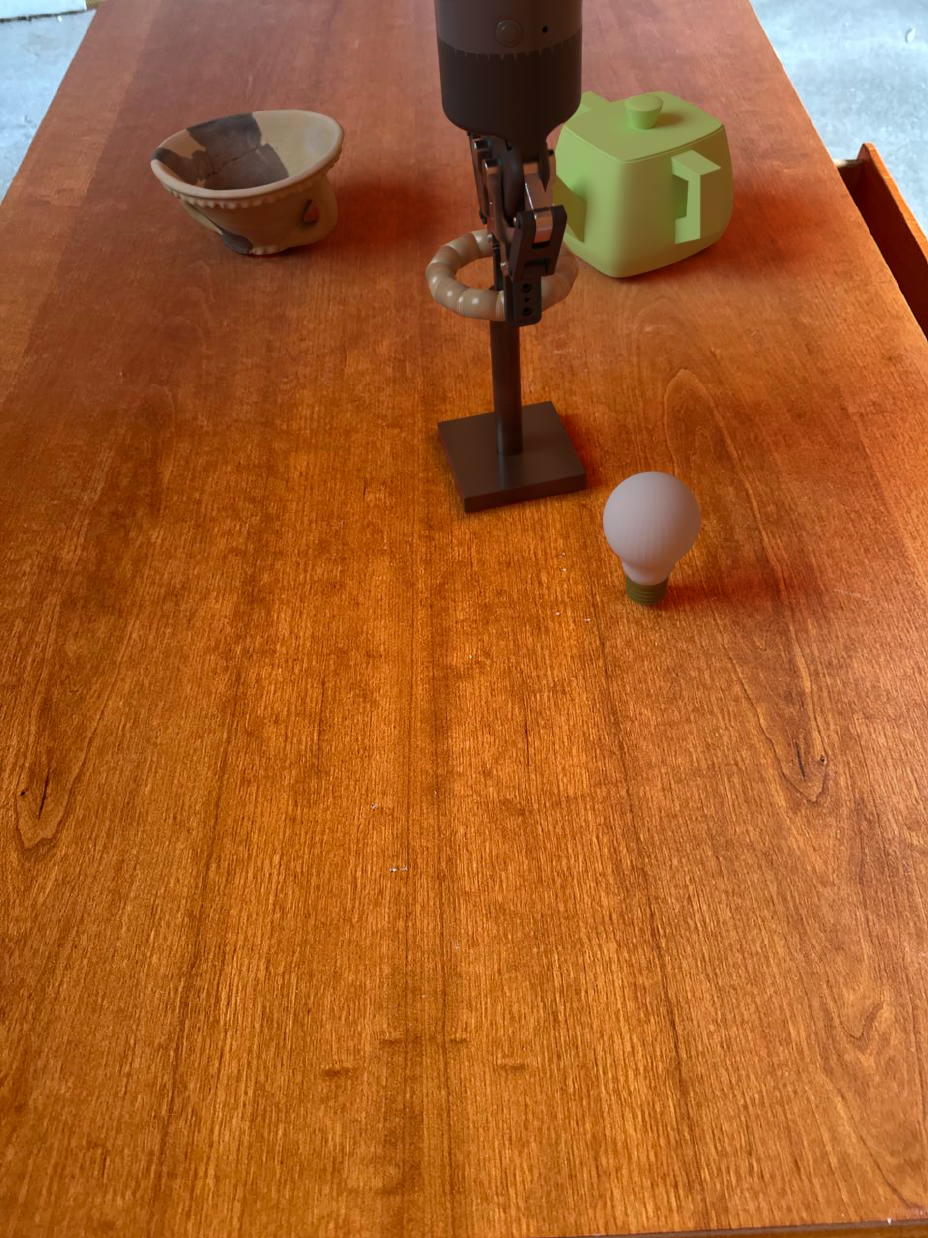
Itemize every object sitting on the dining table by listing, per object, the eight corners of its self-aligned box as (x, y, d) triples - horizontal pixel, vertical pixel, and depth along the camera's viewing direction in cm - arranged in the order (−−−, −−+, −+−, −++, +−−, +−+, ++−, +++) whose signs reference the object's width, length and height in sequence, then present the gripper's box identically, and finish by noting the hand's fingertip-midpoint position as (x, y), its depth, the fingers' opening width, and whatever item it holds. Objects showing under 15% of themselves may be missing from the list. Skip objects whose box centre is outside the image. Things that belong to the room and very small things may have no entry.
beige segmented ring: (554, 236, 78) (554, 211, 76) (595, 309, 71) (595, 283, 70) (416, 261, 77) (413, 236, 75) (444, 337, 70) (442, 311, 69)
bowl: (392, 210, 112) (381, 113, 105) (292, 306, 101) (272, 204, 94) (244, 180, 118) (224, 86, 111) (135, 267, 107) (106, 169, 100)
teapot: (599, 335, 95) (603, 186, 86) (475, 236, 107) (467, 96, 98) (770, 264, 101) (792, 117, 91) (634, 178, 113) (641, 40, 103)
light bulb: (667, 644, 72) (679, 529, 65) (584, 612, 74) (587, 497, 67) (705, 585, 75) (721, 469, 68) (624, 556, 78) (631, 440, 70)
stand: (551, 415, 88) (550, 244, 78) (586, 489, 82) (589, 315, 72) (438, 437, 88) (421, 267, 77) (465, 513, 82) (450, 341, 71)
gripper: (621, 57, 54) (610, 363, 67) (543, -38, 63) (546, 247, 76) (468, 82, 53) (486, 387, 66) (411, -18, 63) (436, 267, 75)
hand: (518, 311), depth 71 cm, fingers closed on beige segmented ring, 2 cm apart
